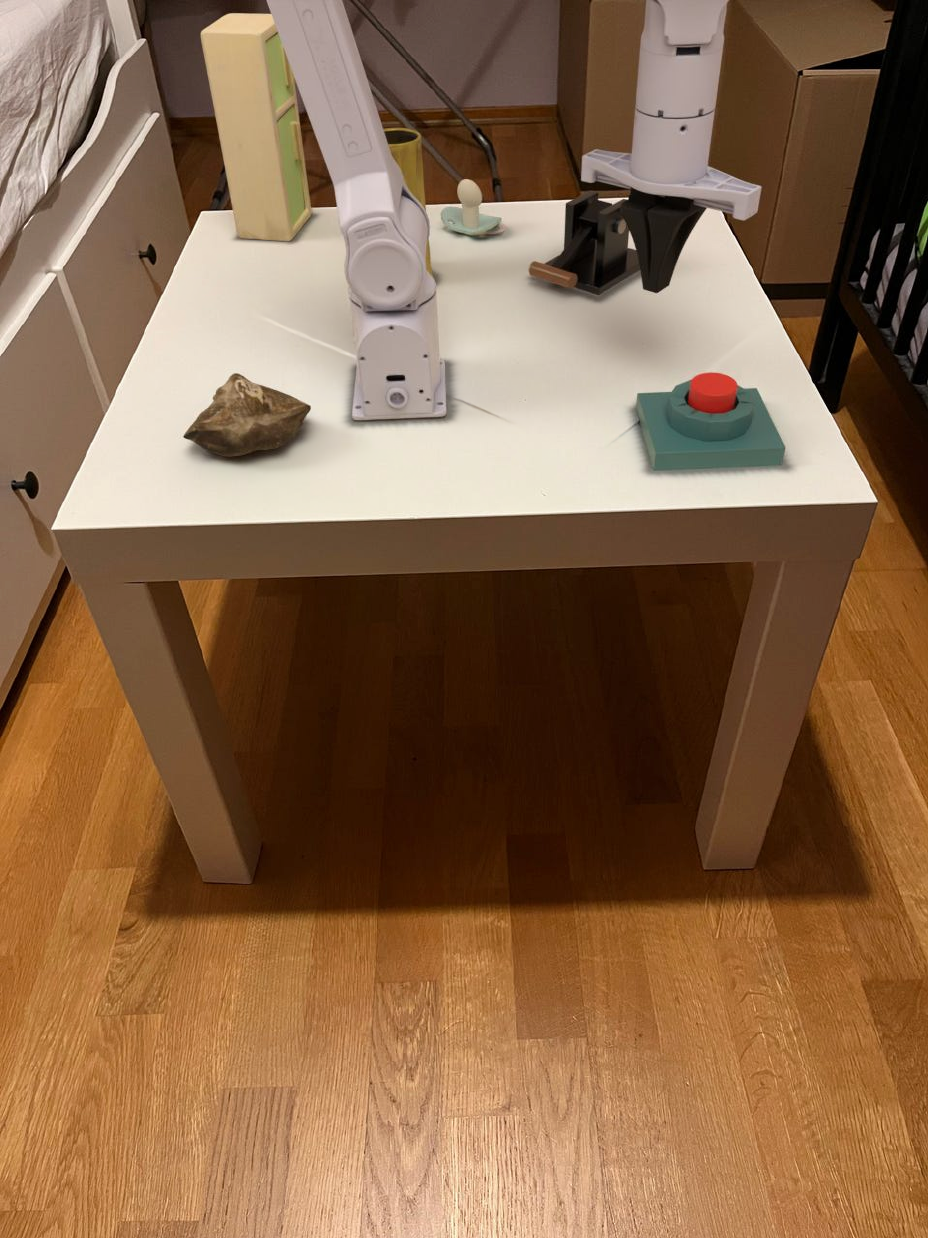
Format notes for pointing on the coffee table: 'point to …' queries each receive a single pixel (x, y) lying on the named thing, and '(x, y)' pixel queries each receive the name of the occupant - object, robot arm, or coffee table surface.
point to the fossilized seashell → (247, 419)
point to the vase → (409, 166)
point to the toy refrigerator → (257, 125)
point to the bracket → (600, 247)
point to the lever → (571, 249)
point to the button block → (707, 432)
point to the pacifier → (470, 213)
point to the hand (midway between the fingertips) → (656, 287)
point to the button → (712, 393)
